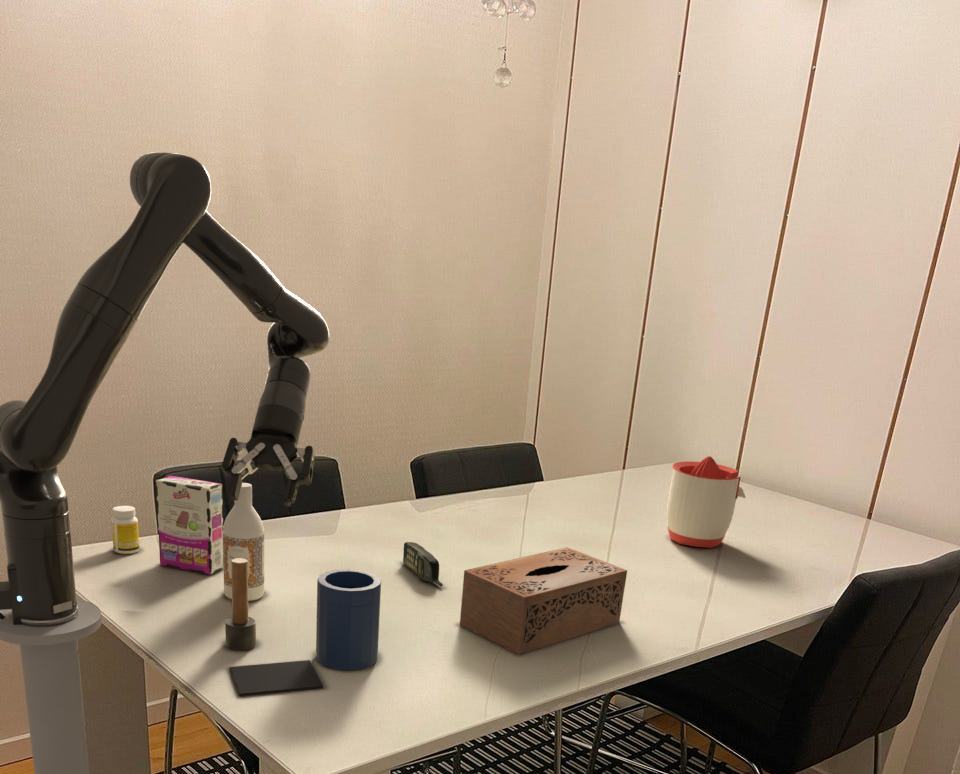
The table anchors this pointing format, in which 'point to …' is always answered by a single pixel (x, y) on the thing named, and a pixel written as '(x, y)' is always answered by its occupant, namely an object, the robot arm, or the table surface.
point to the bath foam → (244, 543)
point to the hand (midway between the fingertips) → (260, 501)
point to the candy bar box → (190, 524)
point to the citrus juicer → (701, 502)
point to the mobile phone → (421, 562)
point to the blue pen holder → (347, 619)
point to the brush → (240, 610)
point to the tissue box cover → (541, 598)
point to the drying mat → (275, 678)
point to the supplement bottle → (125, 530)
